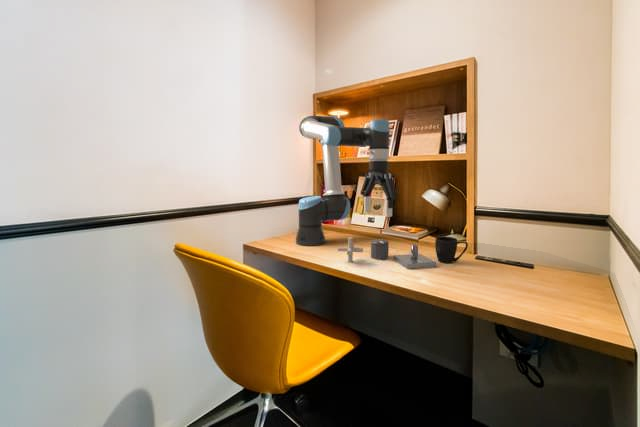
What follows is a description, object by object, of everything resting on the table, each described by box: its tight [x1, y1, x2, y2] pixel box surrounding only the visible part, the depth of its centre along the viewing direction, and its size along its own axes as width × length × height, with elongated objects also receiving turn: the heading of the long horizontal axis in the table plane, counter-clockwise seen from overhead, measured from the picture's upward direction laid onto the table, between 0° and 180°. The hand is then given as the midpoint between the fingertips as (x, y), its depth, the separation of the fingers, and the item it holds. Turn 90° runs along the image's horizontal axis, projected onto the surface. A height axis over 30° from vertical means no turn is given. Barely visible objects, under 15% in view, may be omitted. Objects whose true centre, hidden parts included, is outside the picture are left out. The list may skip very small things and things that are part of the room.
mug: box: [434, 236, 469, 265], centre depth 127 cm, size 8×12×10 cm
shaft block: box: [392, 243, 437, 270], centre depth 126 cm, size 12×12×8 cm
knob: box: [370, 238, 390, 261], centre depth 135 cm, size 7×7×7 cm
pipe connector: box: [337, 236, 364, 263], centre depth 129 cm, size 10×10×10 cm
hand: (377, 214), depth 127 cm, fingers open, 13 cm apart
